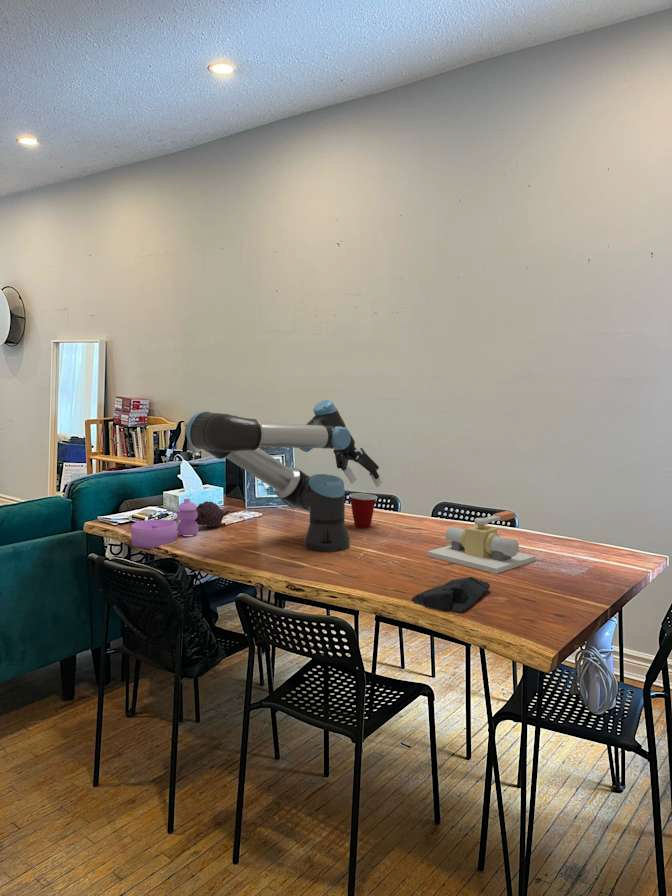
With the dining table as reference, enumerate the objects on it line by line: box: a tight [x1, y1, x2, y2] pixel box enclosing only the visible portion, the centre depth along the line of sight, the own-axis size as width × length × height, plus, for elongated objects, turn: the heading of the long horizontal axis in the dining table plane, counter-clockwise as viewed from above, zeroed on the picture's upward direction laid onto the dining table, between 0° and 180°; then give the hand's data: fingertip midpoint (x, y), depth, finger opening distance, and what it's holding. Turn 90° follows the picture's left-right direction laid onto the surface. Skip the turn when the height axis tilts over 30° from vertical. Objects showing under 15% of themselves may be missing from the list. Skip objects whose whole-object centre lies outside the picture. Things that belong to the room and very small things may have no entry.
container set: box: [130, 498, 200, 549], centre depth 243 cm, size 25×15×13 cm, turn 136°
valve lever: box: [474, 510, 516, 526], centre depth 219 cm, size 18×4×2 cm, turn 131°
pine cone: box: [194, 500, 230, 528], centre depth 260 cm, size 18×10×10 cm, turn 136°
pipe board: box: [427, 525, 536, 574], centre depth 216 cm, size 20×26×11 cm
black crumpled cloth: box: [411, 576, 491, 613], centre depth 180 cm, size 15×22×5 cm
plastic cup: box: [348, 492, 378, 529], centre depth 261 cm, size 11×11×12 cm
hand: (366, 483), depth 260 cm, fingers open, 13 cm apart
